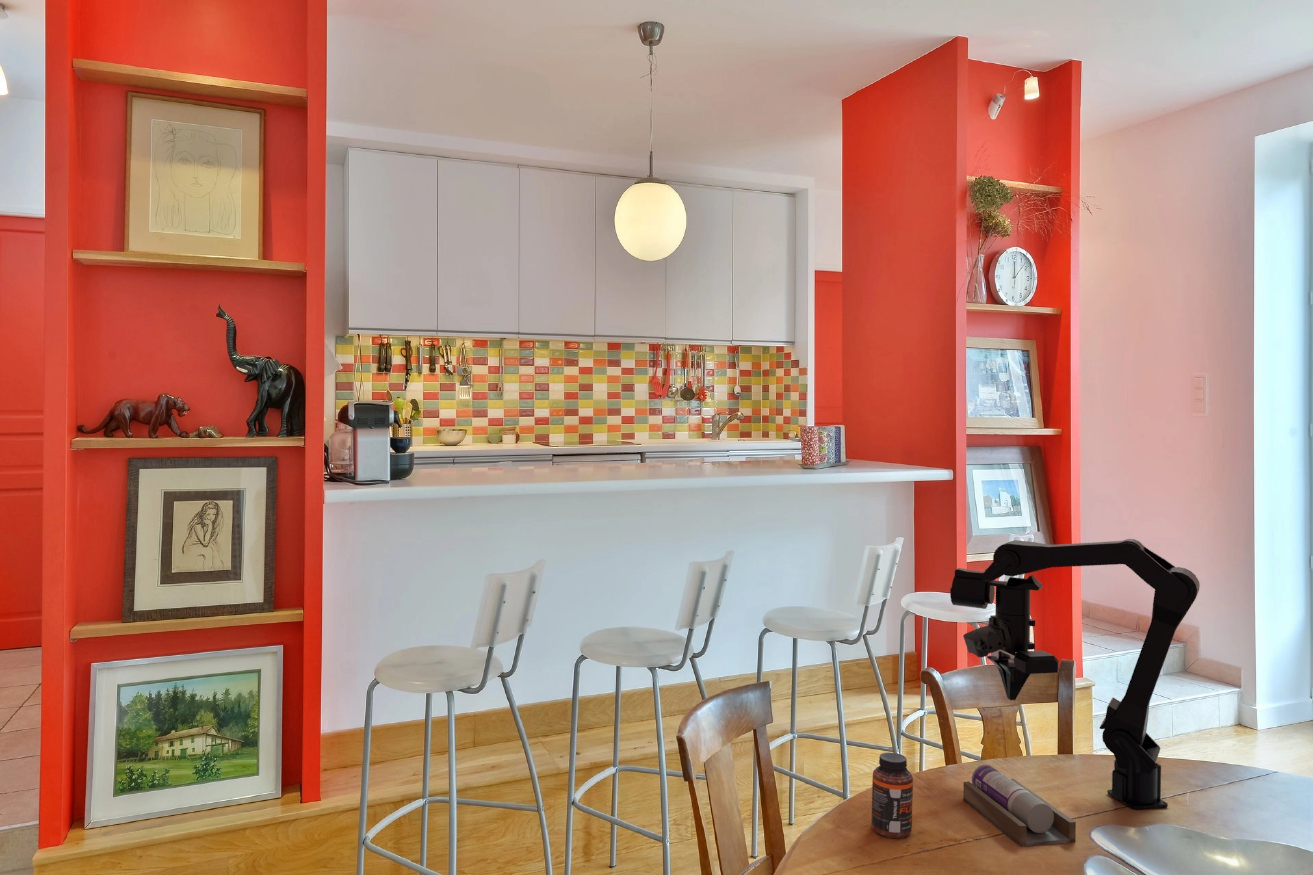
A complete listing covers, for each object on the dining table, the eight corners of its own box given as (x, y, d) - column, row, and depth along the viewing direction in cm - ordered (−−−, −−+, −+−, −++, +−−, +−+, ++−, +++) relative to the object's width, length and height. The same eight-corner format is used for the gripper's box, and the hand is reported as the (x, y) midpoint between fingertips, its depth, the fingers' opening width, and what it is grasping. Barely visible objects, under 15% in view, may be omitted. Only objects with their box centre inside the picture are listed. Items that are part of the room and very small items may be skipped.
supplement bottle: (905, 844, 127) (906, 767, 127) (866, 833, 130) (867, 758, 130) (916, 828, 132) (917, 754, 132) (878, 818, 136) (879, 746, 135)
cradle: (1013, 796, 144) (1013, 778, 144) (1075, 841, 128) (1075, 821, 128) (963, 799, 143) (963, 781, 143) (1020, 846, 127) (1020, 826, 127)
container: (992, 795, 145) (1049, 837, 130) (967, 788, 144) (1022, 829, 129) (1000, 768, 145) (1058, 807, 130) (976, 761, 144) (1032, 799, 129)
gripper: (944, 602, 162) (943, 686, 162) (1000, 625, 144) (999, 719, 144) (999, 601, 164) (998, 683, 164) (1061, 623, 145) (1060, 716, 146)
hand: (1011, 699), depth 154 cm, fingers closed
